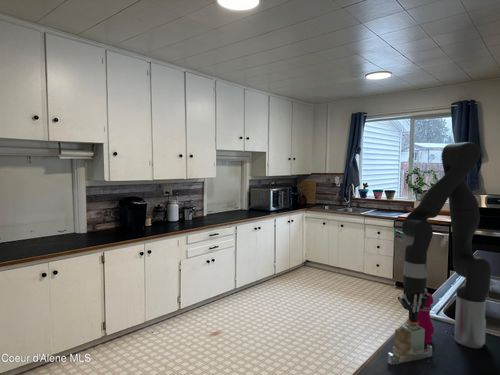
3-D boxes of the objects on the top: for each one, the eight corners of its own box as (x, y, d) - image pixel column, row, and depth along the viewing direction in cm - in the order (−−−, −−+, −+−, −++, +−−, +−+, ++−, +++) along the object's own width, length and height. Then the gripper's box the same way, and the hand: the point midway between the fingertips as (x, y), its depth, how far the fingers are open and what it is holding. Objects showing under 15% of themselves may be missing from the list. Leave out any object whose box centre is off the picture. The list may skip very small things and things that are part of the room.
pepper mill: (409, 339, 130) (411, 288, 129) (416, 332, 136) (418, 283, 134) (429, 346, 125) (431, 293, 124) (436, 339, 130) (438, 288, 129)
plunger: (412, 333, 126) (413, 318, 126) (420, 338, 122) (421, 322, 122) (404, 334, 125) (404, 319, 124) (412, 339, 121) (413, 324, 121)
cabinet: (413, 343, 127) (413, 323, 127) (423, 350, 122) (424, 329, 122) (399, 346, 125) (400, 325, 125) (410, 353, 120) (411, 331, 120)
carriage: (404, 353, 118) (405, 327, 117) (412, 359, 115) (413, 332, 114) (392, 356, 116) (393, 329, 116) (400, 362, 113) (401, 334, 112)
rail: (428, 353, 120) (428, 344, 120) (431, 356, 119) (432, 346, 119) (387, 363, 115) (388, 353, 114) (391, 365, 113) (391, 355, 113)
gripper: (421, 269, 128) (419, 314, 129) (392, 272, 123) (390, 319, 125) (437, 275, 121) (435, 323, 122) (408, 279, 116) (406, 328, 117)
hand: (412, 321), depth 123 cm, fingers closed
